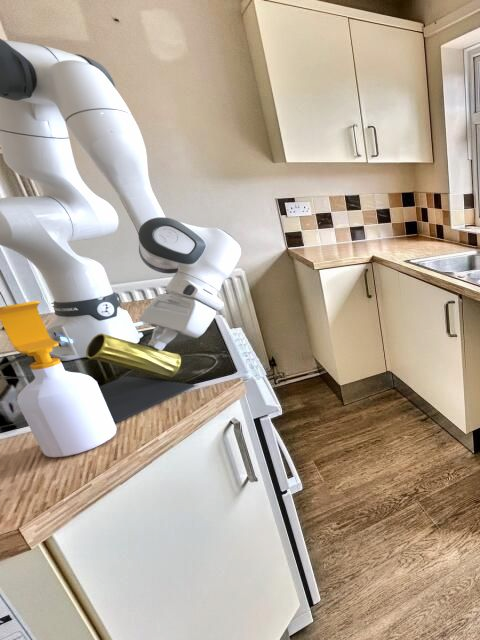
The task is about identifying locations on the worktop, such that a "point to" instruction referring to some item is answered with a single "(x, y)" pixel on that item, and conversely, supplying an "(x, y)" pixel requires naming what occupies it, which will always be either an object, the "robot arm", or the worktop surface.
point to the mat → (137, 395)
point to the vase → (133, 356)
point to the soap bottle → (55, 390)
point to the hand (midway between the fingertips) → (154, 348)
